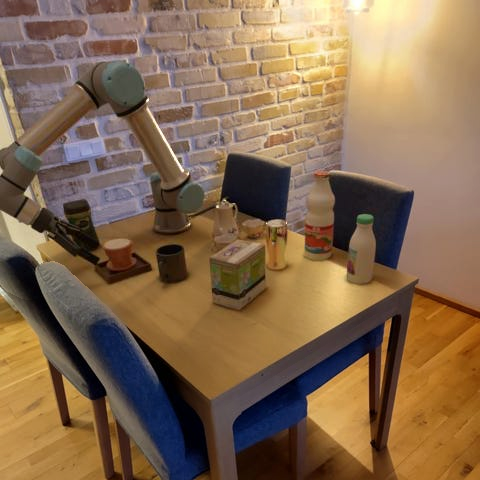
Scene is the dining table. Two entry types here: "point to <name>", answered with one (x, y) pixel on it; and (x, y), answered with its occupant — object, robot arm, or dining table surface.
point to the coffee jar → (81, 220)
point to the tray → (117, 276)
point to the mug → (171, 263)
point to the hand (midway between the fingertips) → (97, 253)
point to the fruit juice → (319, 218)
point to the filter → (119, 255)
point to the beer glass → (276, 243)
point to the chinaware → (231, 225)
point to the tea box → (237, 273)
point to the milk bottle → (361, 251)
